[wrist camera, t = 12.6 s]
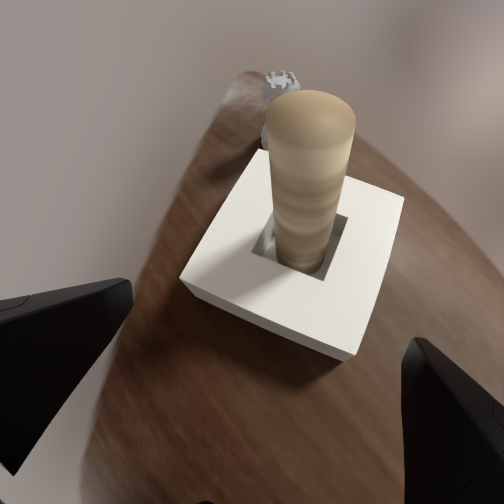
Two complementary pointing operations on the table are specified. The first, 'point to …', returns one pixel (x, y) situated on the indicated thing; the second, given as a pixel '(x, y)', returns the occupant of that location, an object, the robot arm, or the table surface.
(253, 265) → the block
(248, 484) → the table surface
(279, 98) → the peg
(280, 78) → the rook chess piece
